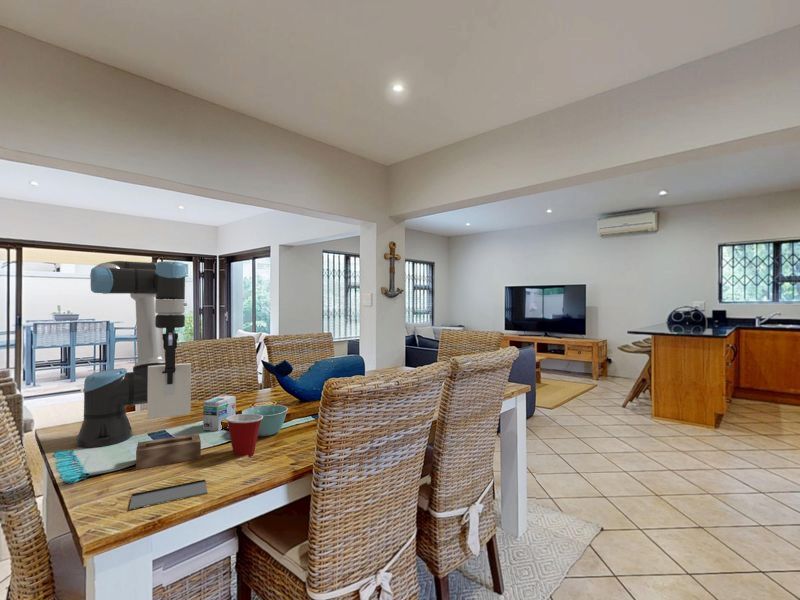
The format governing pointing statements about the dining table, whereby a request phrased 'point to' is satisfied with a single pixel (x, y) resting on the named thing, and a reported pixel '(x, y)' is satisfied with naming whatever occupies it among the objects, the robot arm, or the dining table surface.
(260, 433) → the bowl
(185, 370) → the rectangular insert block
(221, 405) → the light bulb box
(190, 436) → the slot box
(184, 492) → the rubber mat
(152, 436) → the dining table surface
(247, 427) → the plastic cup
